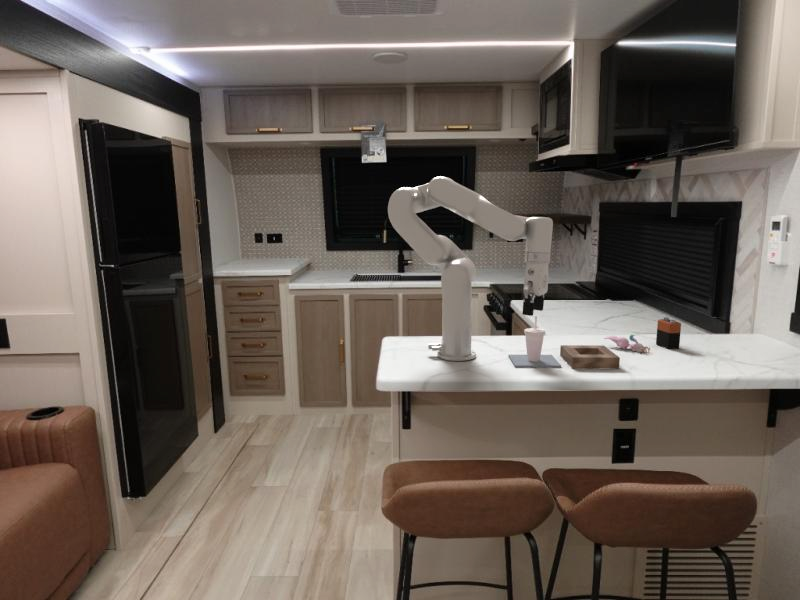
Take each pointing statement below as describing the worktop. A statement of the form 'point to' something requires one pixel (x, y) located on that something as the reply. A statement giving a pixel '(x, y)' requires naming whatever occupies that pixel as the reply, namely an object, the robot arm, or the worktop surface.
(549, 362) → the slate mat
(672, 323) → the battery
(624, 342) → the rabbit figure
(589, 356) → the walnut frame
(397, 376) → the worktop surface
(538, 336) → the smoothie
